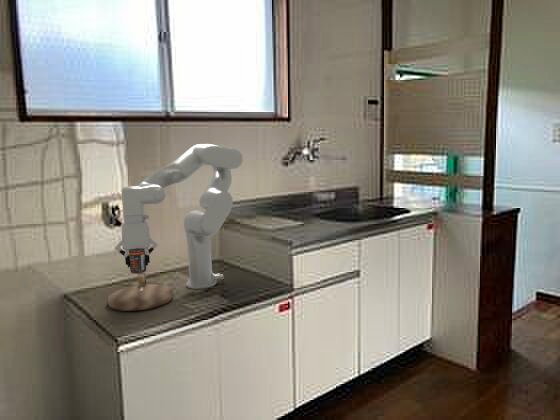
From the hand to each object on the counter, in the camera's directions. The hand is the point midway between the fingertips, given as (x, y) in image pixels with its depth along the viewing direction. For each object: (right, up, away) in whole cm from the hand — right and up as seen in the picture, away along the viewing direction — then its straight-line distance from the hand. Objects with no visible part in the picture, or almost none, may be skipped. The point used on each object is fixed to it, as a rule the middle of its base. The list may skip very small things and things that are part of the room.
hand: (138, 265), depth 178 cm
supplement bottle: (0, -3, 0) cm, 3 cm away
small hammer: (-3, -12, +18) cm, 22 cm away
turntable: (+1, -14, +2) cm, 14 cm away
